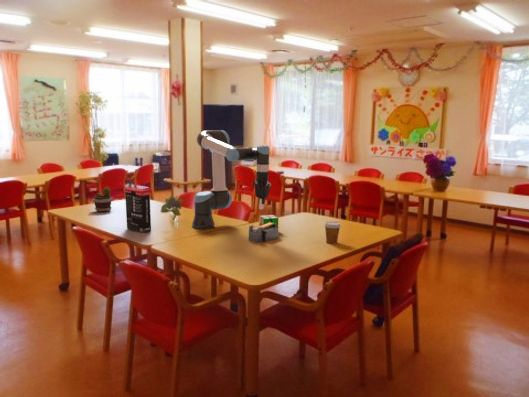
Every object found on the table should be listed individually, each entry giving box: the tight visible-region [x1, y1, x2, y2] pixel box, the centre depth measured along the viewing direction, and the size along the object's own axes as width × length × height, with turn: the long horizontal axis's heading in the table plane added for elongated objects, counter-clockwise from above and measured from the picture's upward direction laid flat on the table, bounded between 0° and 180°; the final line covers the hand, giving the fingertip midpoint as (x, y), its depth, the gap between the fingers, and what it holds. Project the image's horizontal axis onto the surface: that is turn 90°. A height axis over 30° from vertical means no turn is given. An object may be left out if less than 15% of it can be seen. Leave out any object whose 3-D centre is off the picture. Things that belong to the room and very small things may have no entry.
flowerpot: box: [92, 185, 114, 213], centre depth 351 cm, size 14×15×20 cm
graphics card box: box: [124, 187, 152, 233], centre depth 293 cm, size 17×7×27 cm, turn 56°
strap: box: [251, 222, 273, 232], centre depth 278 cm, size 5×17×2 cm, turn 142°
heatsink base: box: [248, 222, 279, 244], centre depth 279 cm, size 12×19×9 cm, turn 142°
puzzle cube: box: [258, 214, 279, 229], centre depth 296 cm, size 10×10×10 cm
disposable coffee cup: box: [324, 221, 342, 245], centre depth 272 cm, size 10×10×12 cm
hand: (261, 208), depth 280 cm, fingers closed
